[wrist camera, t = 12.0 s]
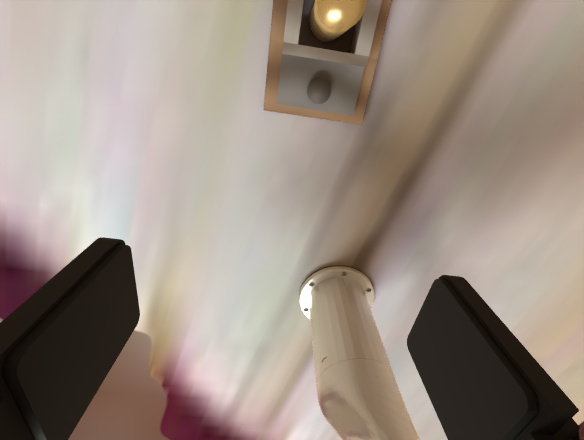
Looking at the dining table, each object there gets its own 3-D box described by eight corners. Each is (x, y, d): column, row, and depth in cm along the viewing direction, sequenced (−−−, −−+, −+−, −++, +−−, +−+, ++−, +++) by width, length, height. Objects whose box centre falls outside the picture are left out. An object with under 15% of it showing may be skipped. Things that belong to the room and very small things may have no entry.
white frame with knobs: (359, 123, 36) (367, 128, 32) (264, 109, 35) (261, 113, 31) (412, -97, 27) (431, -124, 23) (285, -125, 26) (285, -156, 22)
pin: (342, 44, 32) (360, 33, 24) (306, 38, 31) (313, 25, 23) (350, 0, 30) (373, -28, 22) (313, -7, 30) (322, -37, 22)
